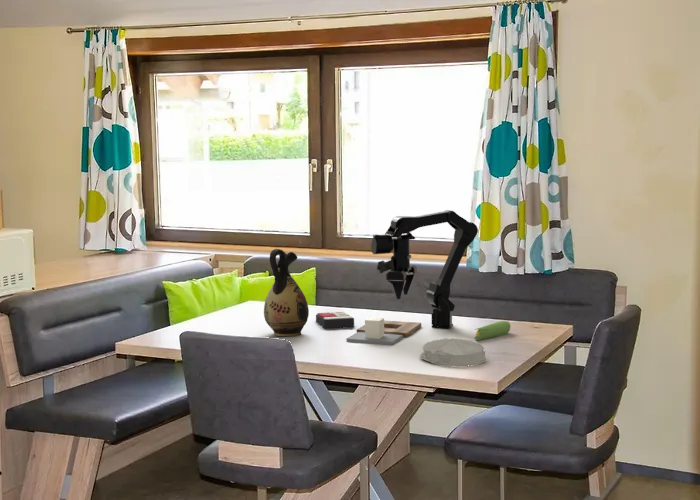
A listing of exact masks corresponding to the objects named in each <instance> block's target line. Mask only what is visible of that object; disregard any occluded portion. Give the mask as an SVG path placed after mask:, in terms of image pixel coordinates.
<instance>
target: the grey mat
mask: <svg viewBox="0 0 700 500" xmlns="http://www.w3.org/2000/svg"><path fill="white" fill-rule="evenodd" d="M403 338H404V337H403V335H394V334H384V336H383V337H381V338H380V339H374V338H365V332H357V331H356V332H355V333H354V334H352V335H350V336H348V337H347V338H346V342H348V343H360V344H361V343H362V344H374V345H375V344H376V345H387V346H394V345H395V344H396V343H397V342H399V341H400V340H402V339H403Z"/></svg>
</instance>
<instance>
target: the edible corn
mask: <svg viewBox="0 0 700 500" xmlns="http://www.w3.org/2000/svg"><path fill="white" fill-rule="evenodd" d="M473 330H474V331H476V332H475V337H474V340H475V342H477V341H480V340H486V339H490V338H495V337H500V336H504V335H508V333H510V331H511V323H510V322H509V321H508V320H498V321H496V322H493V323H491V324H487V325H484V326H481V327H477V328H474V329H473Z"/></svg>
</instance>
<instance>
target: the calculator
mask: <svg viewBox="0 0 700 500" xmlns="http://www.w3.org/2000/svg"><path fill="white" fill-rule="evenodd" d="M315 322H316V323H317V324H318V325H319V326H321V328H323V329H324V330H335V329H350V328H355V318H354V317H352V316H351V315H350V314H349V313H346V312H345V311H333V312H317V314H316V315H315Z"/></svg>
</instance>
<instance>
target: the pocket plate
mask: <svg viewBox="0 0 700 500" xmlns="http://www.w3.org/2000/svg"><path fill="white" fill-rule="evenodd" d="M421 328H422V322H413V321H412V322H411V321H401V320H400V321H397V320H385V319H384V334H394V335H403V338H408V337H409V336H411V335H413V333H415V332H416V331H418V330H419V329H421ZM357 332H365V324H364V325H362V326H360V327H358V328H357V329H356V333H357Z"/></svg>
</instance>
